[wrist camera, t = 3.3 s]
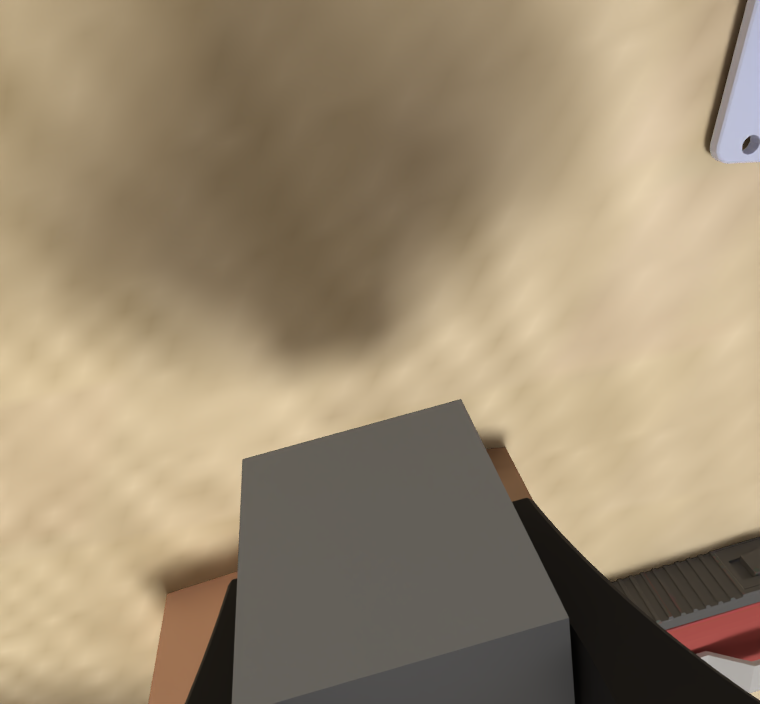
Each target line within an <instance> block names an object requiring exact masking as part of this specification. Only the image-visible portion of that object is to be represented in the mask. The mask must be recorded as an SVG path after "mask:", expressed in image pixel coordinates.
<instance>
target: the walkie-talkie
mask: <svg viewBox="0 0 760 704" xmlns="http://www.w3.org/2000/svg"><path fill="white" fill-rule="evenodd" d="M612 584H613V585H614V586H615V587H616V588H617V589H618V590H620V591H621V592H622V593H623V594H624V595H625V596H626V597H627V598H628V599H630V600H631V601H632V602H633V603H634V604H635V605H636V606H638V607H639V608H640V609H641V610H642V611H643V612H645V613H646V614H647V615H648V616H649V617H650V618H652V619H653V620H654V621H655V622H656V623H657V624H659V625H660V626H661V627H662V628H663V629H665V630H666V631H667V632H668V633H670V634H671V635H672V636H673V637H674V638H676V639H677V640H678V641H679V642H681V643H682V644H683V645H684V646H686V647H687V648H688V649H690V650H691V651H692V652H694V653H695V654H696V655H698V656H699V657H700V658H701V659H703V660H704V661H705V662H707V663H708V664H709V665H711V666H712V667H713V668H715V669H716V670H717V671H719V672H720V673H722V674H723V675H724V676H726V677H727V678H729V679H730V680H731V681H733V682H734V683H735V684H737V685H738V686H740V687H741V688H742V689H744V690H745V691H747V692H749V693H752V692H756V691H759V690H760V537H757V538H754V539H750V540H747V541H744V542H740V543H737V544H734V545H730V546H727V547H724V548H720V549H717V550H714V551H711V552H709V553H708V554H705V555H698V556H697V557H695V558H692V559H690V558H687V559H686V560H685V561H682V562H678V561H677V562H675V563H674V564H672V565H669V566H667V565H664V566H663V567H662V568H659V569H655V568H654V569H652V570H651V571H649V572H646V573H644V572H641V573H640V574H639V575H636V576H632V575H631V576H629V577H628V578H626V579H622V580H621V579H618V580H617V581H616V582H612Z"/></svg>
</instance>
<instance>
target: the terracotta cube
mask: <svg viewBox="0 0 760 704" xmlns="http://www.w3.org/2000/svg"><path fill="white" fill-rule="evenodd" d="M237 574H238V571H237V572H233V573H230V574H227V575H224V576H221V577H218V578H215V579H212V580H209V581H205V582H202V583H199V584H196V585H193V586H190V587H187V588H184V589H181V590H177V591H174V592H171V593H168V594H167V598H166V604H165V610H164V616H163V621H162V627H161V633H160V639H159V645H158V650H157V656H156V662H155V668H154V674H153V679H152V685H151V691H150V697H149V702H148V704H185V702H186V699H187V697H188V694H189V692H190V689H191V687H192V684H193V682H194V679H195V677H196V674H197V672H198V669H199V667H200V664H201V662H202V659H203V656H204V654H205V651H206V648H207V646H208V643H209V640H210V637H211V635H212V632H213V629H214V626H215V623H216V620H217V618H218V615H219V612H220V609H221V606H222V603H223V600H224V597H225V593H226V590H227V587H228V585H229V583H230V582H231V580H233V579H236V578H237Z"/></svg>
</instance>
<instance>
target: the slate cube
mask: <svg viewBox="0 0 760 704" xmlns="http://www.w3.org/2000/svg"><path fill="white" fill-rule="evenodd" d="M232 704H575V698H574V684H573V669H572V655H571V640H570V625H569V617H568V615H567V613H566V611H565V609H564V607H563V605H562V603H561V601H560V599H559V596H558V594H557V592H556V590H555V588H554V586H553V584H552V582H551V580H550V578H549V576H548V574H547V572H546V570H545V568H544V566H543V564H542V562H541V560H540V558H539V556H538V554H537V552H536V550H535V548H534V546H533V544H532V542H531V540H530V538H529V536H528V534H527V532H526V530H525V528H524V526H523V524H522V522H521V520H520V518H519V515H518V513H517V511H516V509H515V507H514V505H513V503H512V501H511V499H510V497H509V495H508V493H507V491H506V489H505V487H504V485H503V483H502V481H501V479H500V477H499V475H498V473H497V471H496V469H495V467H494V465H493V463H492V461H491V459H490V457H489V455H488V453H487V451H486V449H485V447H484V445H483V443H482V441H481V439H480V437H479V434H478V432H477V430H476V428H475V426H474V424H473V422H472V420H471V418H470V416H469V414H468V412H467V410H466V408H465V406H464V404H463V402H462V400H461V399H460V400H456V401H452V402H449V403H445V404H442V405H438V406H434V407H431V408H427V409H423V410H420V411H416V412H413V413H409V414H405V415H402V416H398V417H394V418H391V419H387V420H383V421H380V422H376V423H373V424H369V425H365V426H362V427H358V428H354V429H351V430H347V431H344V432H340V433H336V434H333V435H329V436H325V437H322V438H318V439H314V440H311V441H307V442H304V443H300V444H296V445H293V446H289V447H285V448H282V449H278V450H275V451H271V452H267V453H264V454H260V455H256V456H253V457H249V458H245V459H243V461H242V484H241V506H240V529H239V552H238V574H237V597H236V619H235V642H234V664H233V687H232Z"/></svg>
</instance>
